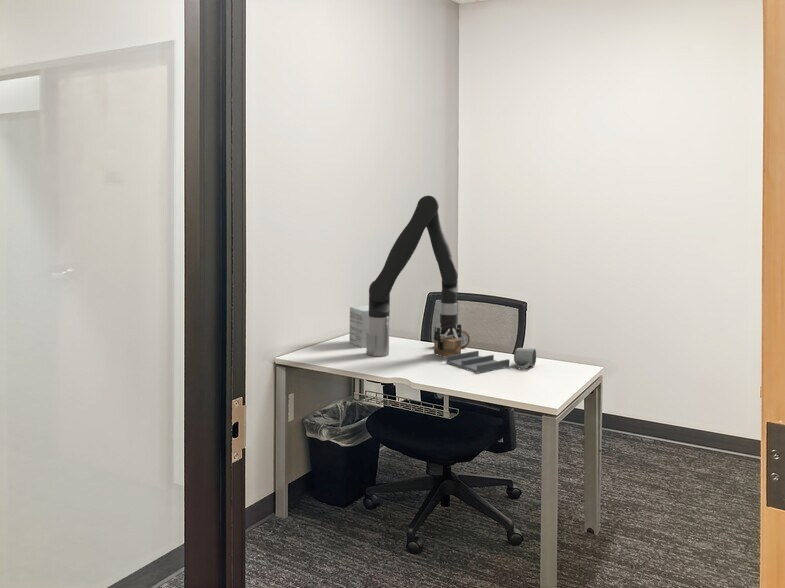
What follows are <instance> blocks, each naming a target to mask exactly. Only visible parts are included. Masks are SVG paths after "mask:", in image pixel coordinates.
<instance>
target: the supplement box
mask: <svg viewBox="0 0 785 588" xmlns="http://www.w3.org/2000/svg"><path fill="white" fill-rule="evenodd" d="M368 329H369V305H360V306H359V305H358V306H349V337H348V338H349V343H351V344H352V343H353V344H352V345H355V346H357V345H358V346H357V347H359V348H360V347H361V348H362V347H364V348H366V339H367V333H368Z"/></svg>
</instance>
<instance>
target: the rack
mask: <svg viewBox="0 0 785 588" xmlns="http://www.w3.org/2000/svg"><path fill="white" fill-rule="evenodd" d="M479 354H480V351H479V350H474V351H467V352H461V354H456V355H450V356H447V358H446V364H449V365H451V366H454V365H455V367H458V368H461V369H465V370H467V369H468V370H467V371H470V370H471V371H470V372H473V371H474V373H476V374H481V373H486V372H490V371H496V370H500V368H501V369H505V368H509V367H510V359H508V358H507V359H502V360H496V359H494V358H495V357H494V356H495V355H493V354H490V355H485V356H483V355H482V356H481V355H479ZM504 367H505V368H504ZM495 369H496V370H495Z"/></svg>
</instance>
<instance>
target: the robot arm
mask: <svg viewBox="0 0 785 588" xmlns="http://www.w3.org/2000/svg"><path fill="white" fill-rule="evenodd" d="M439 205H440V204H439V202H438V199H437V198H436V197H435V196H432V195H425V196H422V197H421V198H419V199H418V202H417V204H416V207H415V210H414V212H413V214H412V216H411V218H410V219H409V221H408V223H407V224H406V226H405V227H404V228H403V230H402V231H401V233H400V234H399V235H398V237H397V238H396V240H395V242H394V244H393V245H392V247H391V249H390V251H389V252H388V256H387V258H386V260H385V263H384V265H383V267H382V269H381V271H380V272H379V274H378V276H377V277H376V279H375V280H373V281H372V282H371V283H370V285H369V288H368V306H369V329H368V333H367V339H366V347H365V348H366V350H365V353H366V355H368V356H372V357H386V356H389V354H390V311H391V310H390V307H391V306H390V305H391V304H390V302H391V298H390V297H391V291H392V289H393V286H394V284H395V283H396V280H397V279H398V277H399V275H400V274H401V273H402V271H403V270H404V269H405V267H407V266H406V265H407V264H408V262H409V261H410V260H411V258H412V256H413V254H414V253H415V251H416V250H417V247H418V245H419V244H420V240H421V238H422V236H423V233H424V232H425V230H427V233H428V235H429V240H430V243H431V248H432V251H433V254H434V257H435V260H436V262H437V265H438V270H439V273H440V277H441V294H440V307H439V308H440V309H439V323H440V326H434V334H433V340H436V341H438V349H439V350H443V342H442V341H443V340H444V338H445V337H446V336H449V335H451V336H452V337H453V338H455V339H458V338H461V330H462V325H461V324H459V323H458V290H457V288H458V286H457V285H458V277H459V276H458V275H459V273H458V271H457V269H456V267H455V264H454V261H453V255H452V252H451V249H450V245H449V243H448V239H447V238H446V235H445V232H444V230H443V227H442V224H441V221H440V215H439ZM455 330H456V331H455ZM458 332H459V334H458ZM442 334H443V335H442ZM441 337H442V338H441Z"/></svg>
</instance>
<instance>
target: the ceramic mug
mask: <svg viewBox="0 0 785 588" xmlns="http://www.w3.org/2000/svg"><path fill="white" fill-rule="evenodd" d="M513 361H514V365H515V367H516V368H517V369H519V368H520V370H524V369H527V368H528V367H529V366H530V367H531V368H534V367H536V362H537V351H536V348H534V347H533V348H531V347H518V348H516V349H515V351H514V354H513ZM530 367H529V368H530Z"/></svg>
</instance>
